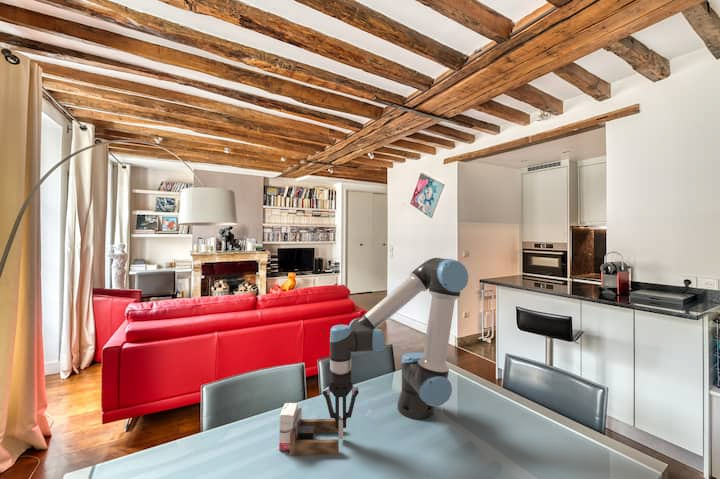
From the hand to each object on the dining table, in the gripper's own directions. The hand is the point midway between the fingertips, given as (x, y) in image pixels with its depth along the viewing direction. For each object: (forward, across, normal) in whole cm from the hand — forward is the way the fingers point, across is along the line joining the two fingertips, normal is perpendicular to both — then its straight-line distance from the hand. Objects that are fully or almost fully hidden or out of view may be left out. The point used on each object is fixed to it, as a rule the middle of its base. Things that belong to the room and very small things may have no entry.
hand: (340, 436), depth 109 cm
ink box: (+2, +18, 0) cm, 18 cm away
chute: (+2, +8, 0) cm, 8 cm away
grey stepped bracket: (+1, +13, 0) cm, 13 cm away
